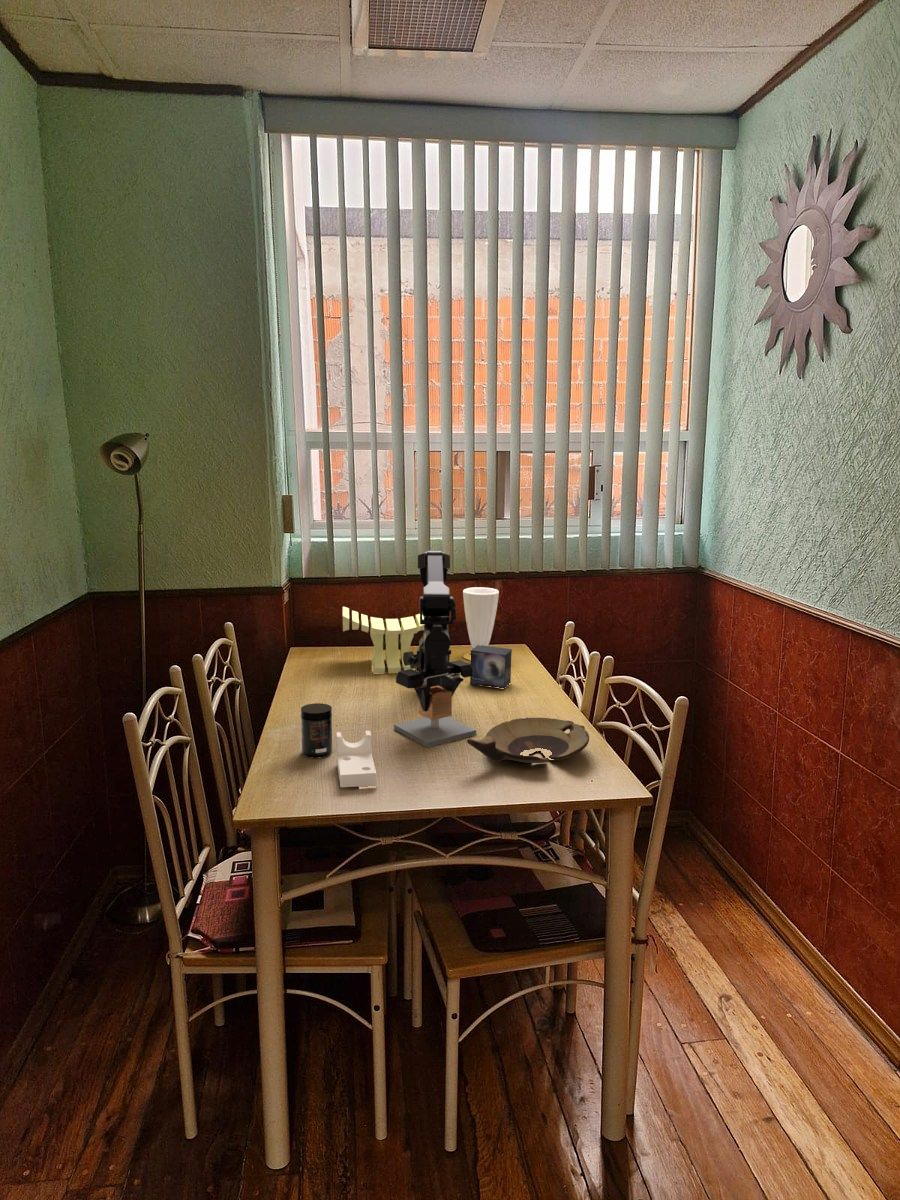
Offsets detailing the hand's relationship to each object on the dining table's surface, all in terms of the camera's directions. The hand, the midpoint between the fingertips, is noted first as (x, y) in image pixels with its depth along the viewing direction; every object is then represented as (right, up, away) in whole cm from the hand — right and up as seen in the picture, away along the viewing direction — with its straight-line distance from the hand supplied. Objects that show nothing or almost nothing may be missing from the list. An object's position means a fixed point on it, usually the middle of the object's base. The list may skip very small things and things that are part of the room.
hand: (435, 708), depth 191 cm
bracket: (-16, -11, -24) cm, 31 cm away
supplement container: (-26, -8, -13) cm, 30 cm away
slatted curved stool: (-14, +5, +56) cm, 58 cm away
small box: (+15, +1, +39) cm, 42 cm away
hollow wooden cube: (0, -1, 0) cm, 2 cm away
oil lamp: (+20, -9, -12) cm, 25 cm away
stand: (0, -6, +1) cm, 6 cm away
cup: (+13, +7, +68) cm, 70 cm away
